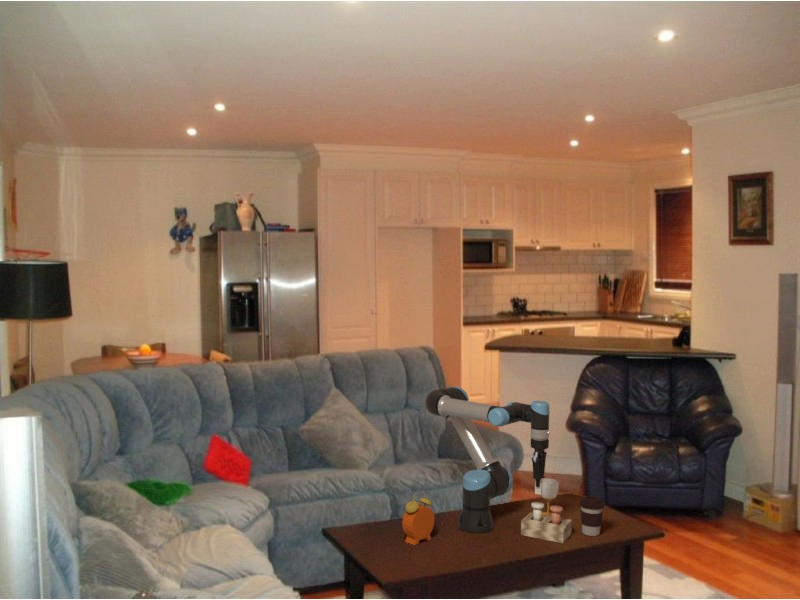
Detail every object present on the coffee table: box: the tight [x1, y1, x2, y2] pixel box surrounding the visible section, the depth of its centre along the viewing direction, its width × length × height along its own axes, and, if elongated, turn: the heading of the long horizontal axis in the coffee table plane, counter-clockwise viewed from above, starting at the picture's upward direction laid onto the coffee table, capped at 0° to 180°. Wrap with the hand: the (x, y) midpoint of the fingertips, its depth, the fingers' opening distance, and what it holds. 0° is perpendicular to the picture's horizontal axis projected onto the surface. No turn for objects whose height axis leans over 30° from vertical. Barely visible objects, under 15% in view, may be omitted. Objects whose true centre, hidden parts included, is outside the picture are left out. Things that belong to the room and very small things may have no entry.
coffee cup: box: [579, 495, 605, 537], centre depth 314 cm, size 10×10×15 cm
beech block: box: [520, 512, 573, 544], centre depth 312 cm, size 18×12×6 cm, turn 61°
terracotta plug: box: [549, 504, 564, 525], centre depth 310 cm, size 5×5×8 cm
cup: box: [540, 477, 560, 516], centre depth 334 cm, size 9×9×16 cm
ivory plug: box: [530, 501, 545, 521], centre depth 314 cm, size 5×5×8 cm
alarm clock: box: [401, 490, 436, 546], centre depth 302 cm, size 13×6×20 cm, turn 134°
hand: (538, 493), depth 313 cm, fingers closed
